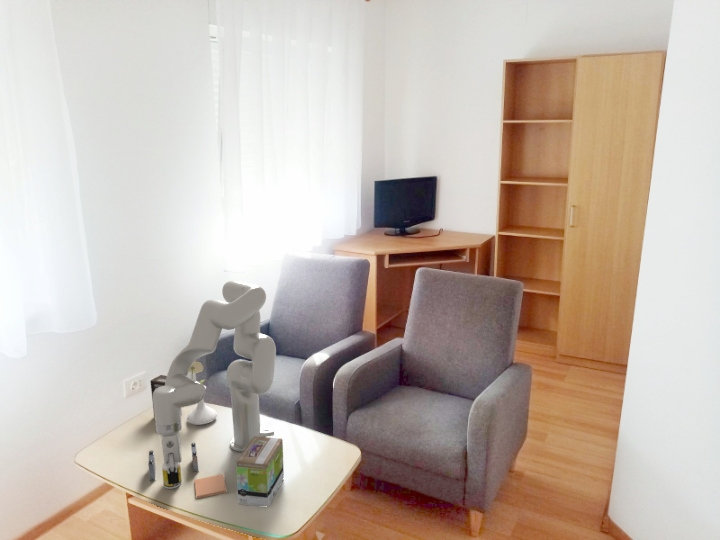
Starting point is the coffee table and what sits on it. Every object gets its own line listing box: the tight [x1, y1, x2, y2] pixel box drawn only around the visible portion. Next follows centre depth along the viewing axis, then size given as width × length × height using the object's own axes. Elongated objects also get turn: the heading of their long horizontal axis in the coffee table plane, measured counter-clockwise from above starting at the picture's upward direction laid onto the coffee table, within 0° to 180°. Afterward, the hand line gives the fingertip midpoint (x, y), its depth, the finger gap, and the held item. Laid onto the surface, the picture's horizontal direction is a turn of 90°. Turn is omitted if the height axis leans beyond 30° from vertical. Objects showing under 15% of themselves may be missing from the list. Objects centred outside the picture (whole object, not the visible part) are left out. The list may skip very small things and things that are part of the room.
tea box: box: [235, 436, 285, 508], centre depth 168 cm, size 15×10×15 cm, turn 170°
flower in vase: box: [186, 360, 218, 426], centre depth 212 cm, size 13×11×25 cm
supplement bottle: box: [161, 460, 182, 490], centre depth 173 cm, size 5×5×10 cm
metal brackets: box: [147, 442, 199, 482], centre depth 181 cm, size 15×8×7 cm, turn 110°
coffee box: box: [150, 374, 183, 419], centre depth 216 cm, size 9×6×16 cm
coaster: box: [194, 473, 227, 499], centre depth 172 cm, size 9×9×1 cm
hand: (173, 474), depth 173 cm, fingers open, 9 cm apart
